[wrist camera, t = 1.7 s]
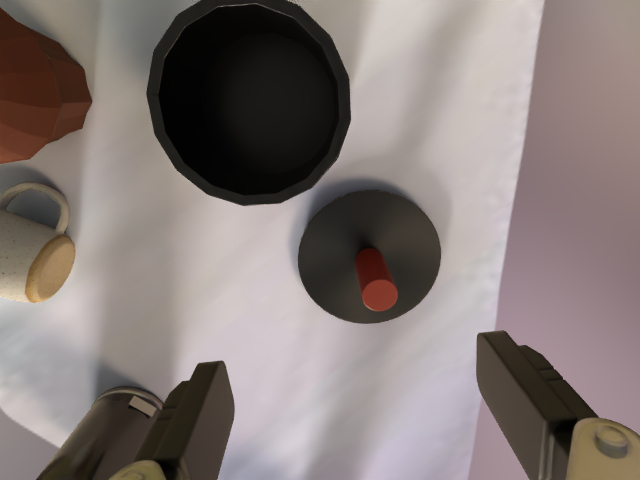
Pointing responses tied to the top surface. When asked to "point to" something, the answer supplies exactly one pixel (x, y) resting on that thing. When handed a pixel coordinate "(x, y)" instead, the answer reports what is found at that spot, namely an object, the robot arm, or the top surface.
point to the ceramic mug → (33, 250)
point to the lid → (369, 256)
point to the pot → (249, 99)
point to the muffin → (36, 91)
